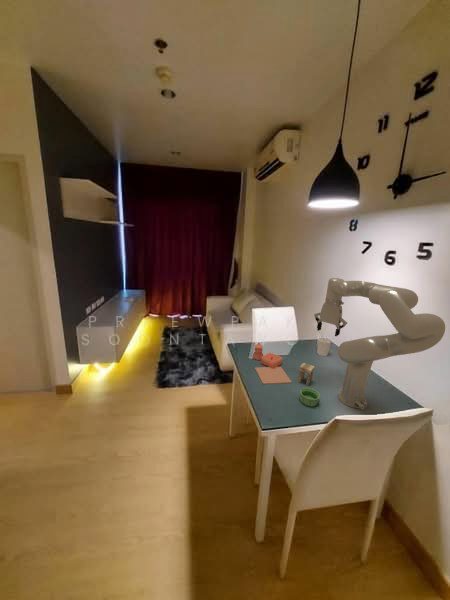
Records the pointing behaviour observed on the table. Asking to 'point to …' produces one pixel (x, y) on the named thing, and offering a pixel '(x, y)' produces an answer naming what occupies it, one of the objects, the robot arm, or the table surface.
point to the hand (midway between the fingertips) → (327, 332)
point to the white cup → (323, 346)
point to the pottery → (266, 357)
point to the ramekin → (309, 396)
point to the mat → (272, 375)
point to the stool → (307, 369)
